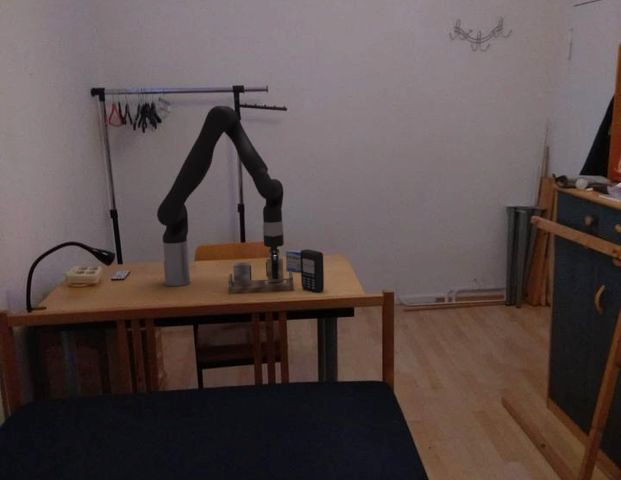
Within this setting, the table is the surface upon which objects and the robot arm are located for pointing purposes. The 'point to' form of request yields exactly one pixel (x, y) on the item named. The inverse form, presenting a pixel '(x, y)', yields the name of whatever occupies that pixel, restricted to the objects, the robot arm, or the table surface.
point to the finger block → (269, 271)
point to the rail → (255, 281)
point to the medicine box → (293, 260)
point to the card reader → (312, 270)
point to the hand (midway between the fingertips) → (275, 277)
